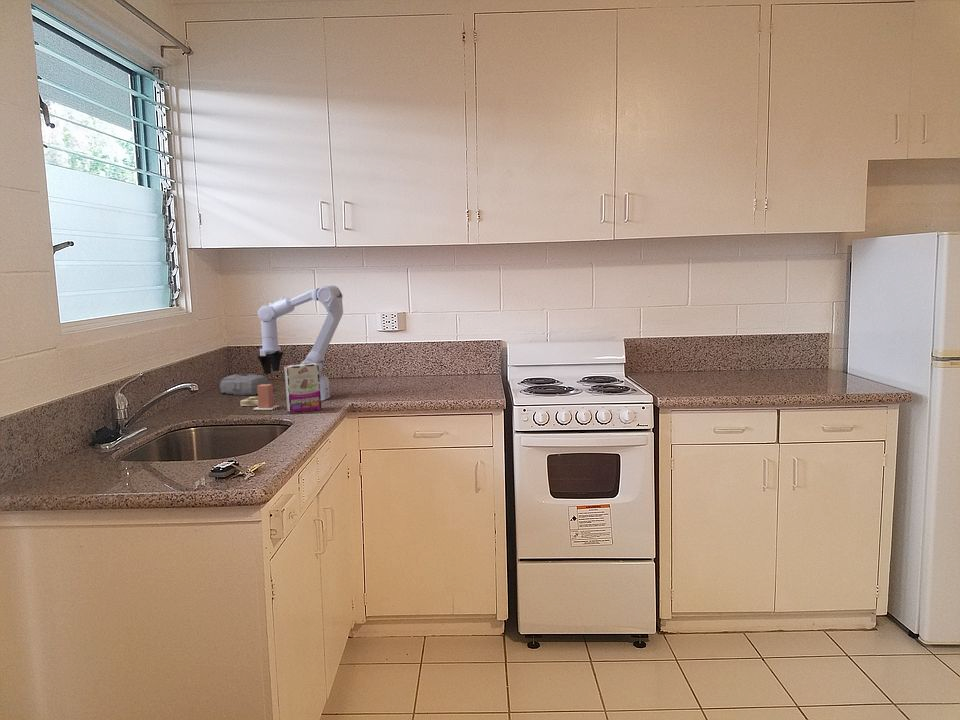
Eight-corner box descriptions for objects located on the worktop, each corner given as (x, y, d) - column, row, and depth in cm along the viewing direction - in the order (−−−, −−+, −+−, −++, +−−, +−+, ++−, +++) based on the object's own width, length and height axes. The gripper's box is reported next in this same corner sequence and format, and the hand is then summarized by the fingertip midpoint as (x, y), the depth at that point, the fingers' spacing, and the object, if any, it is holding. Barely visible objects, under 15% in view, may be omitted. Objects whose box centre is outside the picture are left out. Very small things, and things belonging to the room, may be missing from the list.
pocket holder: (272, 402, 271) (272, 396, 270) (262, 406, 262) (262, 400, 262) (251, 402, 272) (250, 396, 272) (240, 406, 264) (240, 400, 263)
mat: (279, 407, 261) (279, 405, 261) (271, 410, 255) (271, 408, 255) (261, 406, 262) (260, 405, 262) (253, 410, 256) (252, 408, 256)
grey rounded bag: (275, 391, 298) (236, 389, 305) (273, 371, 296) (235, 369, 304) (249, 397, 284) (210, 395, 292) (248, 376, 283) (209, 374, 291)
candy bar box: (318, 407, 258) (315, 362, 256) (321, 410, 253) (319, 363, 251) (286, 411, 253) (283, 365, 251) (289, 413, 248) (286, 366, 246)
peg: (273, 406, 260) (272, 384, 259) (269, 408, 256) (267, 386, 255) (263, 406, 261) (261, 384, 260) (258, 408, 257) (256, 386, 256)
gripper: (267, 335, 282) (269, 369, 284) (251, 339, 268) (253, 375, 270) (284, 335, 281) (287, 369, 283) (269, 338, 267) (271, 375, 269)
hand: (271, 372), depth 276 cm, fingers open, 7 cm apart
